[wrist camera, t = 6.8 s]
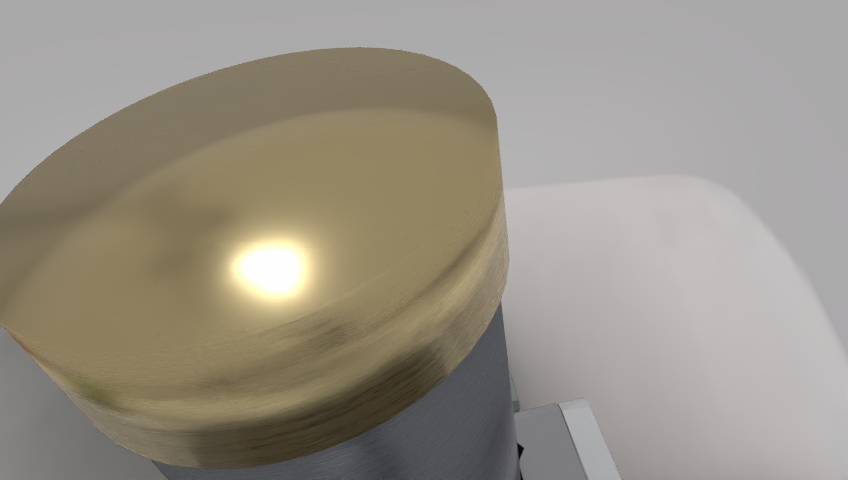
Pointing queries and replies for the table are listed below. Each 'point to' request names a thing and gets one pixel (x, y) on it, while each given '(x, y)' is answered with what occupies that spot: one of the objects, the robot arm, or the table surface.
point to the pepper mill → (278, 273)
